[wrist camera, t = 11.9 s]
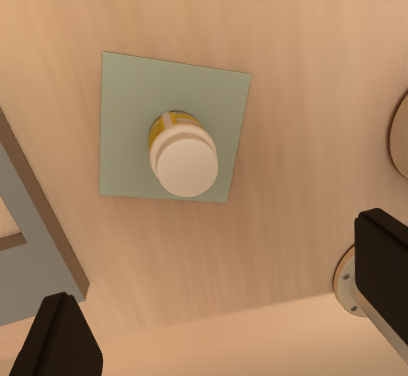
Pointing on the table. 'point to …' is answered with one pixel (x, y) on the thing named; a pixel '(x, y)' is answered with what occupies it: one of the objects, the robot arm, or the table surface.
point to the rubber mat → (155, 106)
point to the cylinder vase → (400, 138)
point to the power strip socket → (31, 241)
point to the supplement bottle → (182, 154)
